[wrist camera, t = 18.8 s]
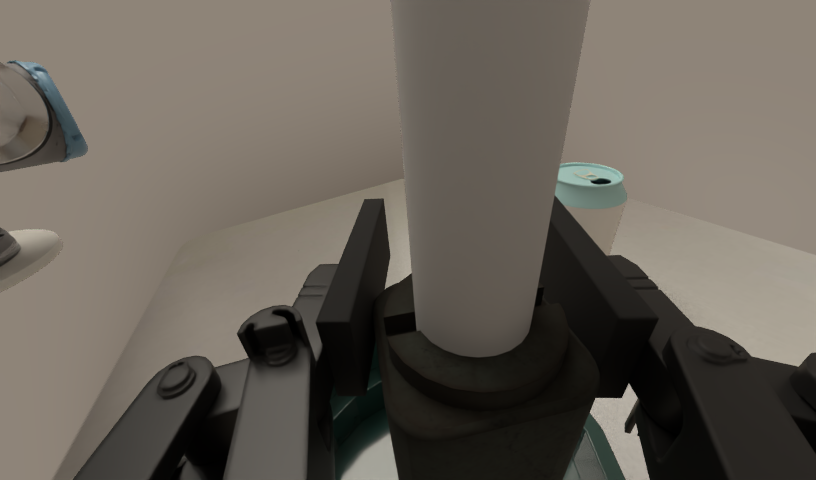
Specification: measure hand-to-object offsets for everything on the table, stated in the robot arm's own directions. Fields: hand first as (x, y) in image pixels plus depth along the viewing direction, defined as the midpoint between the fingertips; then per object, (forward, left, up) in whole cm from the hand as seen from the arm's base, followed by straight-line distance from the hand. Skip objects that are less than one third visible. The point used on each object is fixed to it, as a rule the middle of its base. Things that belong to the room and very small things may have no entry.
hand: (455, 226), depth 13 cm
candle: (0, -5, -13) cm, 14 cm away
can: (+12, +16, -16) cm, 26 cm away
